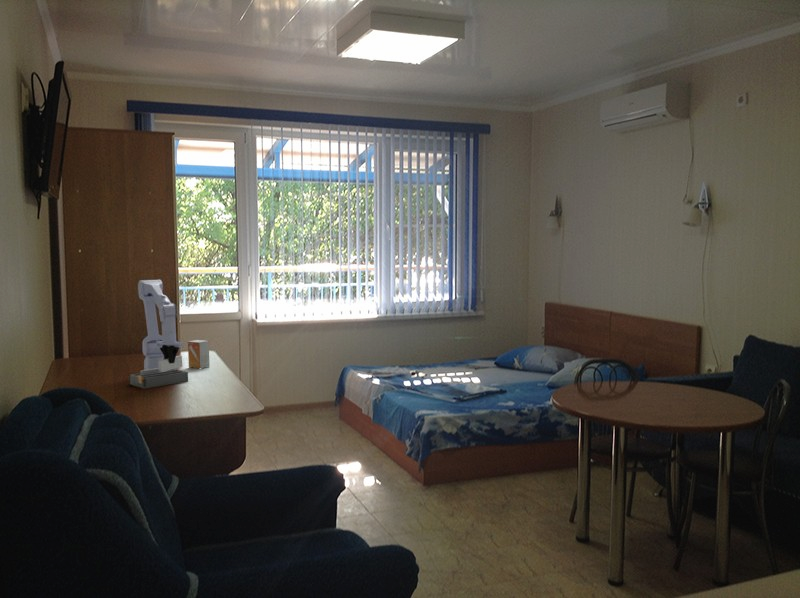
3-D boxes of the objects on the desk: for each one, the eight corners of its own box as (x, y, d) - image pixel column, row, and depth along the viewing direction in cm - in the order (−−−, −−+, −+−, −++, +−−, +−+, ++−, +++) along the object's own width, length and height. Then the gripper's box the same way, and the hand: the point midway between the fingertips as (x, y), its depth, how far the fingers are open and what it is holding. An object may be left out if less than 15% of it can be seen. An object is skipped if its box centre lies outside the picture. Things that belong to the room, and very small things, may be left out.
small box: (188, 367, 331) (187, 341, 330) (198, 365, 337) (197, 339, 336) (200, 368, 327) (199, 342, 326) (210, 366, 333) (209, 340, 332)
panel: (179, 366, 301) (179, 355, 300) (182, 367, 300) (181, 355, 299) (158, 372, 290) (157, 360, 290) (161, 372, 289) (160, 360, 289)
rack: (129, 384, 292) (128, 371, 291) (173, 377, 306) (173, 365, 306) (142, 388, 282) (142, 375, 282) (188, 381, 297) (187, 368, 296)
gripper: (149, 332, 293) (151, 363, 294) (173, 333, 287) (175, 365, 288) (162, 330, 300) (163, 360, 301) (186, 331, 293) (187, 362, 294)
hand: (170, 363), depth 295 cm, fingers closed on panel, 2 cm apart
